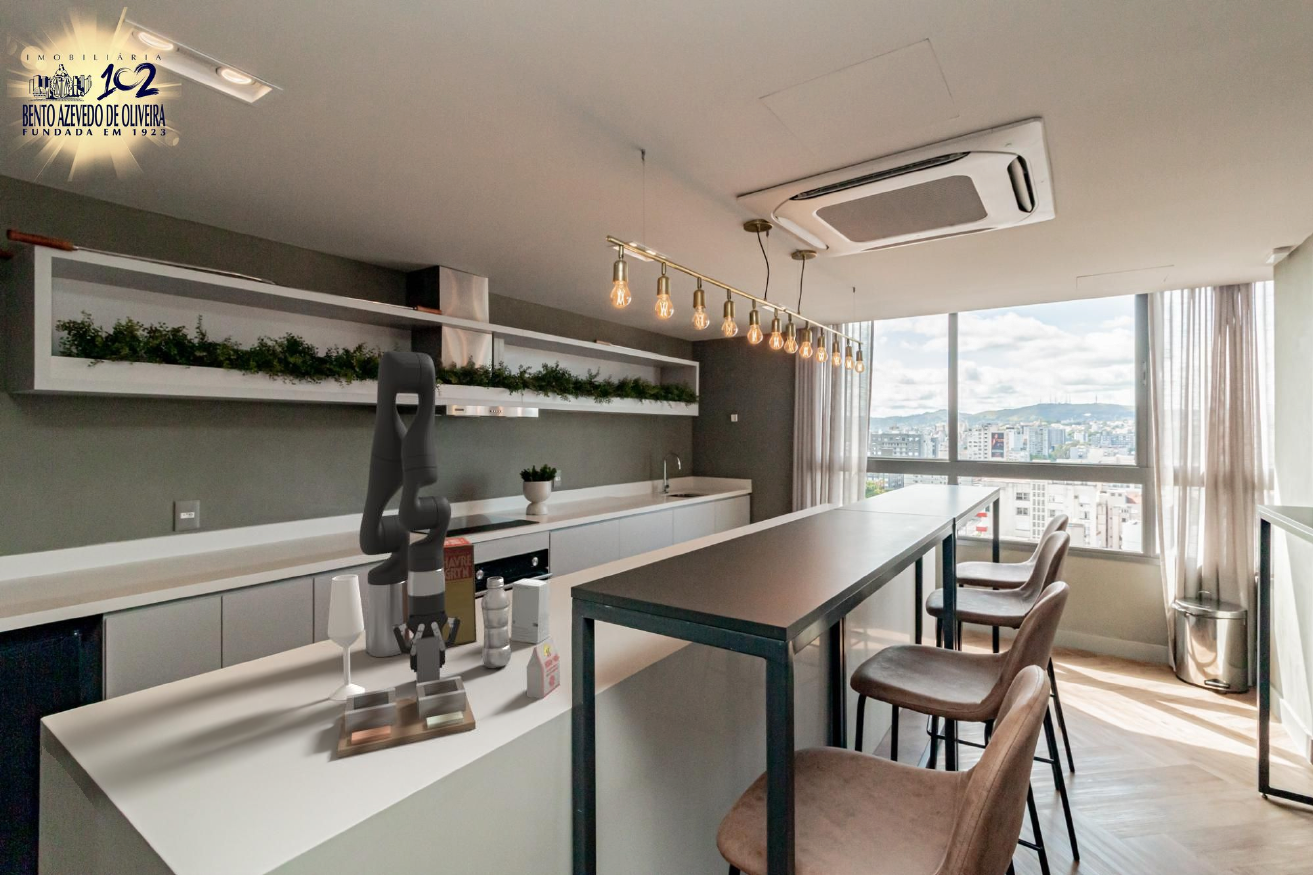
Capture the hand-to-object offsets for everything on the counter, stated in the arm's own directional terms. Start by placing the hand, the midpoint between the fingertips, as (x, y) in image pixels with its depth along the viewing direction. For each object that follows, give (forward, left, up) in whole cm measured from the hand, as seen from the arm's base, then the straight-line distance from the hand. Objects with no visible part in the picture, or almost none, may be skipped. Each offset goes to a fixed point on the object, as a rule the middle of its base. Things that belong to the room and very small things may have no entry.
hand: (428, 668), depth 130 cm
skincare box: (+7, +30, -3) cm, 31 cm away
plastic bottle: (+9, +12, -3) cm, 15 cm away
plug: (0, 0, -3) cm, 3 cm away
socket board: (+9, -16, -3) cm, 19 cm away
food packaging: (-13, +25, -3) cm, 28 cm away
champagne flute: (-12, -10, -3) cm, 16 cm away
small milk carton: (+26, +4, -3) cm, 27 cm away
